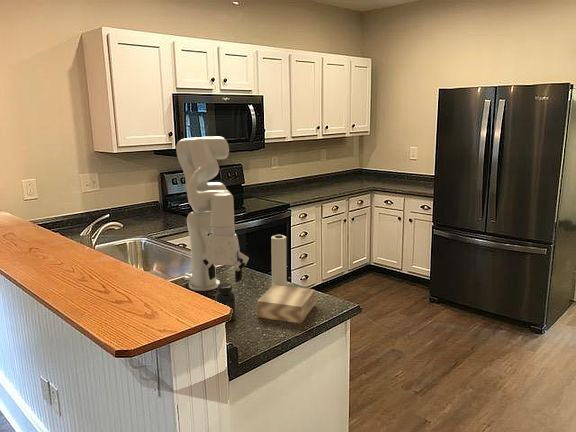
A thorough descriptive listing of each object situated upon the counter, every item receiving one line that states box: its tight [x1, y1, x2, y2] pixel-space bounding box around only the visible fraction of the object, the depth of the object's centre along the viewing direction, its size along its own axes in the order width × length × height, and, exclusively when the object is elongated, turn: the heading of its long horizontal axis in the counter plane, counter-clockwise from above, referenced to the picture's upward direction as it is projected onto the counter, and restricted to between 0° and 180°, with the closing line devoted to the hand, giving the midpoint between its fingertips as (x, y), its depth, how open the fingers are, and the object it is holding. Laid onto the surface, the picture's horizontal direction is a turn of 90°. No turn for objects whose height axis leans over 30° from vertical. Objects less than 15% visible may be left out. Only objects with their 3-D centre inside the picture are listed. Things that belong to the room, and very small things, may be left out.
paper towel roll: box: [270, 233, 288, 287], centre depth 186 cm, size 7×6×21 cm
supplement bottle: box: [214, 282, 237, 322], centre depth 159 cm, size 7×7×12 cm
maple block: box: [256, 285, 315, 324], centre depth 165 cm, size 16×16×6 cm
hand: (225, 279), depth 156 cm, fingers open, 9 cm apart
